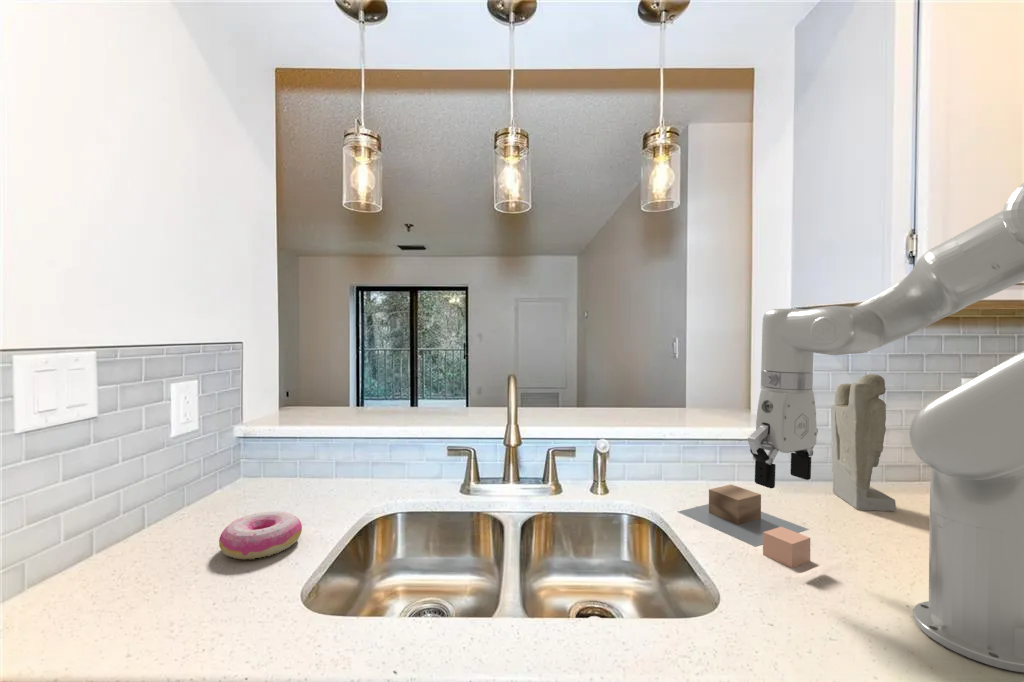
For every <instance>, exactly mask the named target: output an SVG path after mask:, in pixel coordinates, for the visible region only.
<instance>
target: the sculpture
mask: <svg viewBox="0 0 1024 682" xmlns="http://www.w3.org/2000/svg"><path fill="white" fill-rule="evenodd" d="M886 391H887V389H886V382H885V378H884V377H882V376H881V375H880V374H875V373H871V374H865V375H863V376H861V377H860V379H859V381H858V382H852V383H841V384H840V385H838V386H837V387H836V390H835V393H834V394H835V395H834V405H831V406H830V423H831V424H830V428H831V430H830V431H831V469H832V470H831V472H832V493H833V494H834V495H835V496H837V497H839V499H841V500H843V501H845V502H846V503H847V504H848V505H850V506H852V507H853V508H855V509H857V510H864V511H883V512H884V511H885V512H896V511H897V505H896V504H897V503H896V499H895V498H893V497H890V496H889V495H887V494H885V493H884V492H882V491H880V490H878V489H876V488H875V487H873V486H871V481H872V474H873V468H877V467H878V466H879V461H880V457H881V455H882V453H883V451H884V442H885V435H886V432H887V427H886V421H887V404H886V402H885V401H884V400H883V399H881V398H880V396H882V395H884V394H885V393H886Z"/></svg>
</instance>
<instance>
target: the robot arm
mask: <svg viewBox="0 0 1024 682" xmlns="http://www.w3.org/2000/svg"><path fill="white" fill-rule="evenodd" d="M1022 282H1024V182H1023V183H1021V184H1020V185H1019V186H1018V187H1017V188H1015V190H1014V191H1013V192H1012V193H1011V194H1010V195H1009V197H1008V198H1007V199H1006V202H1005V204H1004V206H1003V209H1002V210H1001V211H999V212H997V213H996V214H994V215H993V216H990V217H988V218H986V219H985V220H982V221H981V222H979V223H977V224H975V225H973V226H972V227H970V228H968V229H966V230H964V231H963V232H960V233H959V234H957V235H955V236H953V237H951V238H949V239H948V240H945V241H944V242H942V243H940V244H938V245H935V246H934V247H932V248H931V249H928V250H927V251H926V252H924V254H922V256H920V257H919V259H918V260H917V261H916V262H915V264H914V266H913V267H912V269H911V271H910V272H909V273H908V274H907V275H906V276H905V277H903V279H901V280H900V281H899V282H897V283H895V284H894V285H893V286H891V287H889V288H888V289H885V290H884V291H881V293H878V294H877V295H875V296H873V297H871V298H869V299H867V300H865V301H863V302H860V303H858V304H857V305H854V306H846V305H845V306H844V305H843V306H842V305H841V306H840V305H827V306H821V307H820V306H819V307H814V308H807V309H805V308H775V309H769V310H767V311H765V313H764V314H763V317H762V324H761V325H762V330H761V332H762V333H761V362H760V363H761V364H760V366H761V367H760V368H761V369H760V393H759V396H758V397H759V398H758V405H757V411H756V421H755V431H753V432H752V433H751V434H750V435H749V436H748V437H747V443H748V446H749V448H750V449H749V452H750V453H751V454H752V459H753V461H755V463H754V483H755V484H757V485H760V486H763V487H766V488H769V489H775V486H776V463H774V460H775V459H776V457H777V456H778V453H779V452H780V453H783V454H789V453H790V475H791V476H793V477H797V478H799V479H802V480H806V481H808V480H811V478H812V457H813V456H814V447H815V446H816V444H817V439H818V438H817V437H818V433H819V430H818V428H817V409H816V400H815V394H814V391H813V380H814V379H813V378H814V373H813V372H814V353H815V354H821V355H827V356H840V355H841V356H842V355H852V354H853V355H854V354H855V355H856V354H862V353H863V354H864V353H868V352H871V351H874V350H876V349H879V348H880V347H884V346H886V345H888V344H890V343H892V342H895V341H897V340H899V339H902V338H904V337H906V336H909V335H911V334H914V333H916V332H918V331H919V330H923V329H924V328H926V327H928V326H930V325H932V324H934V323H937V322H938V321H941V320H942V319H944V318H947V317H949V316H952V315H953V314H956V313H957V312H960V311H961V310H963V309H965V308H968V307H969V306H971V305H973V304H975V303H978V302H979V301H982V300H984V299H986V298H989V297H990V296H993V295H995V294H998V293H1000V292H1002V291H1004V290H1007V289H1009V288H1011V287H1014V286H1015V285H1017V284H1019V283H1022ZM908 433H909V441H910V445H911V447H912V449H913V450H914V453H915V454H916V455H917V457H919V459H920V460H921V461H922V462H923V463H924V464H925V465H927V466H928V467H930V468H931V473H930V486H929V487H930V489H929V536H928V537H929V540H928V541H929V547H928V550H929V551H928V553H929V554H928V557H929V558H928V561H929V562H928V601H927V600H926V601H922V602H920V603H919V602H918V603H917V604H916V605H915V606H914V608H913V610H912V618H913V621H914V623H915V625H917V627H918V628H919V629H920V630H921V631H922V632H923V633H924V634H926V635H927V636H928V637H929V638H931V639H933V640H934V641H935V642H937V643H939V644H940V645H942V646H943V647H945V648H947V649H949V650H951V651H953V652H954V653H957V654H959V655H961V656H964V657H966V658H968V659H971V660H974V661H976V662H979V663H982V664H984V665H987V666H992V667H995V668H998V669H1002V670H1007V671H1010V672H1014V673H1015V672H1016V673H1023V674H1024V350H1023V351H1021V352H1019V353H1017V354H1015V355H1013V356H1012V357H1009V358H1008V359H1006V360H1004V361H1002V362H1001V363H999V364H997V365H996V366H993V367H992V368H990V369H987V370H986V371H984V372H983V373H981V374H980V375H977V376H975V377H974V378H971V379H970V380H968V381H966V382H965V383H963V384H961V385H958V387H955V388H954V389H952V390H950V391H947V392H946V393H944V394H943V395H941V396H939V397H937V398H936V399H933V400H931V401H930V402H928V403H927V404H925V405H924V406H923V407H921V408H920V409H919V410H918V411H917V413H915V415H914V416H913V418H912V420H911V423H910V427H909V432H908ZM766 451H769V452H768V453H767V452H766Z"/></svg>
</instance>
